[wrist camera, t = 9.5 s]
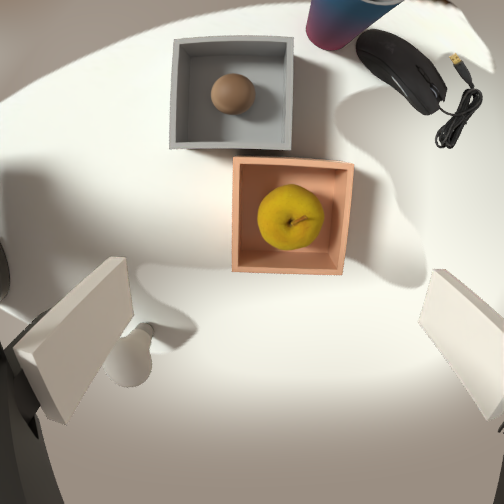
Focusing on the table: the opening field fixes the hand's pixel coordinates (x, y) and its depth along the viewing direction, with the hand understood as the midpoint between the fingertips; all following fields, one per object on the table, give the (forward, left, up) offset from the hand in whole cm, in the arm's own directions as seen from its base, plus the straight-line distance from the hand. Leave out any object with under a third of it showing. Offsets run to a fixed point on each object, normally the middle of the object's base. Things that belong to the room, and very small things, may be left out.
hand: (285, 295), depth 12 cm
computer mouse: (+19, +17, -24) cm, 35 cm away
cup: (+6, +20, -23) cm, 31 cm away
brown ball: (-4, +11, -22) cm, 25 cm away
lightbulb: (-16, -18, -23) cm, 33 cm away
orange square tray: (+2, -1, -23) cm, 23 cm away
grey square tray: (-4, +11, -23) cm, 26 cm away
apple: (+2, -1, -22) cm, 23 cm away
